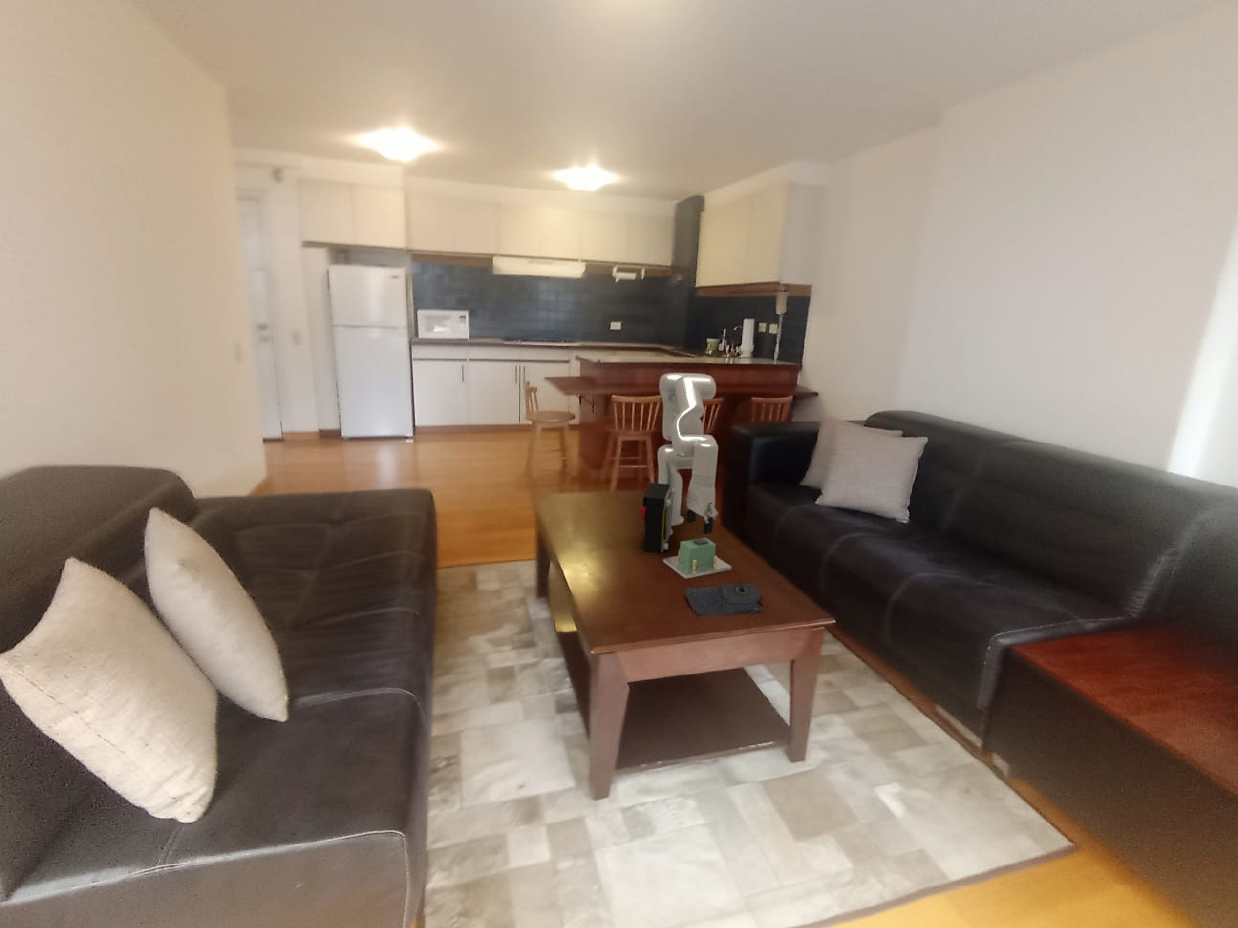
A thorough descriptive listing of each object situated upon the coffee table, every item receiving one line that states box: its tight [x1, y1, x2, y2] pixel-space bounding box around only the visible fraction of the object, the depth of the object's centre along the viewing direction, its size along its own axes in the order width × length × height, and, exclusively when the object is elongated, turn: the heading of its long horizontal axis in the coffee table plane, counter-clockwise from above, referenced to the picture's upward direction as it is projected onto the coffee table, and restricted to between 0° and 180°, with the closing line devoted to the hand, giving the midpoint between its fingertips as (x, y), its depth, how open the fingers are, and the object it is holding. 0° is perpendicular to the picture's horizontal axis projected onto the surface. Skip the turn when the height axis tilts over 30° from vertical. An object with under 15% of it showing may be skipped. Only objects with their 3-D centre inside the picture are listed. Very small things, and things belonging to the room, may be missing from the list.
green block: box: [679, 537, 717, 568], centre depth 193 cm, size 6×10×8 cm, turn 116°
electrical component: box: [640, 482, 675, 554], centre depth 209 cm, size 18×10×20 cm, turn 168°
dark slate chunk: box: [684, 582, 765, 616], centre depth 170 cm, size 15×22×5 cm
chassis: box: [662, 548, 732, 579], centre depth 193 cm, size 14×18×4 cm
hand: (698, 527), depth 191 cm, fingers open, 9 cm apart
